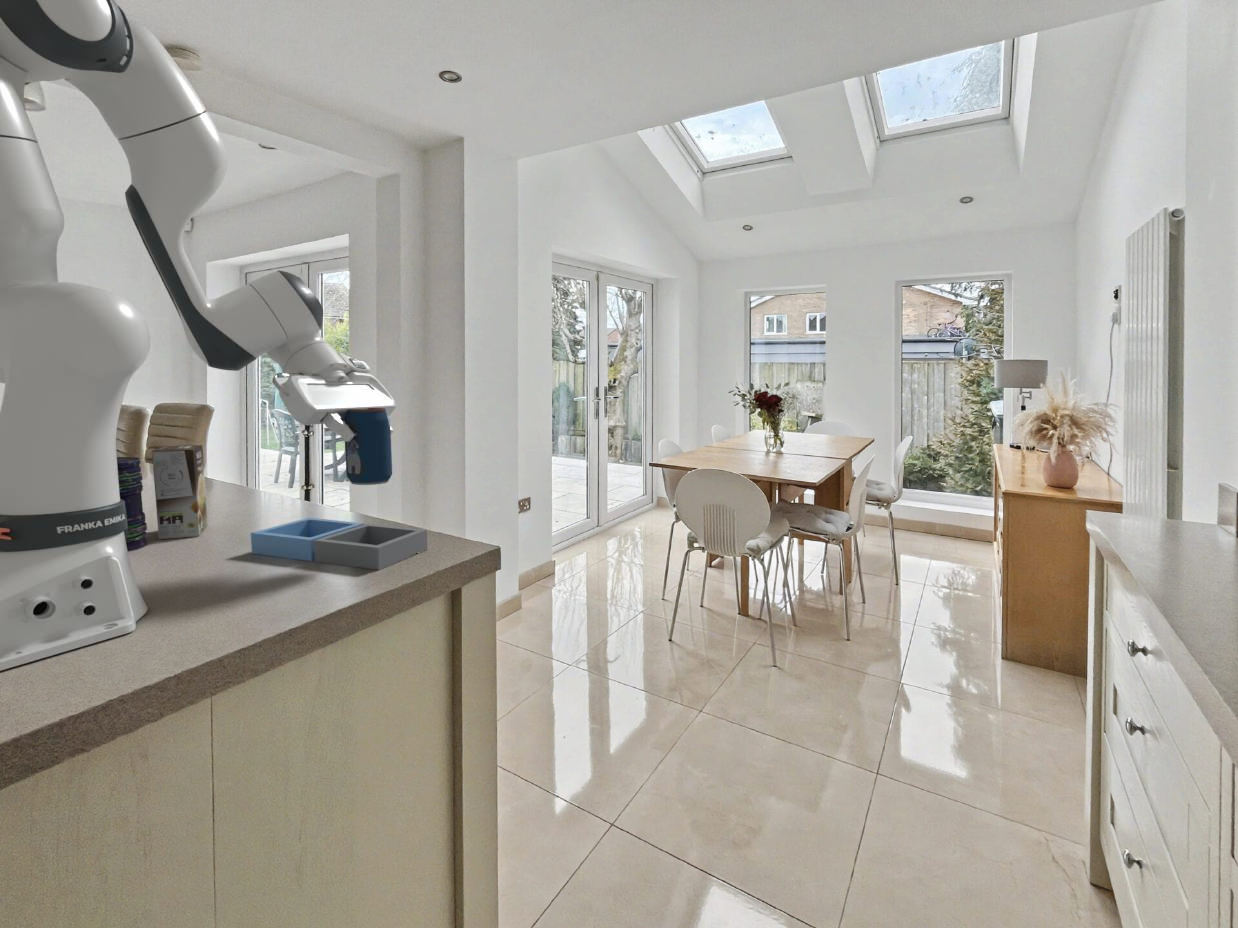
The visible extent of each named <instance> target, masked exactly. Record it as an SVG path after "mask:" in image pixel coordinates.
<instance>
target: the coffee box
mask: <svg viewBox="0 0 1238 928" xmlns="http://www.w3.org/2000/svg"><path fill="white" fill-rule="evenodd" d="M203 450H204V449H203V444H189V445H188V444H187V445H186V444H185V445H166V446H165V445H164V446H162V447H158V448H156V449H153V450H151V455H152V468H153V483H154V494H155V505H156V507H155V508H156V518H157V532H158V539H159V540H165V539H166V540H167V539H180V538H195V537H200V536H201V534H202V533H203V532H204V531H205V530H206V529H207V528H208V526H209V523H208V521H209V520H208V507H207V494H206V493H207V492H206V478H205V465H204V451H203Z"/></svg>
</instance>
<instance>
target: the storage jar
mask: <svg viewBox="0 0 1238 928" xmlns="http://www.w3.org/2000/svg"><path fill="white" fill-rule="evenodd" d="M140 464H141V459H140V457H132V456H131V457H130V456H129V457H128V456H117V467H118V480H119V493H120V499H122V500H123V501H125V508H126V515H127V525H128V532H127V540H126V545H127V550H128V553H130V552H133V551H137V550H140V549H143V548H144V547H146V546H148V540H147V535H148V533H147V530H148V525H147V522H146V514H145V512H144V511H143V509H144V507H143V498H142V497H143V496H142V491H143V490H144V489H143V488H144V485H143V482H142V481H143V473H141V472H142V469H141V466H140Z"/></svg>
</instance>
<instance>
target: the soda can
mask: <svg viewBox="0 0 1238 928" xmlns="http://www.w3.org/2000/svg"><path fill="white" fill-rule="evenodd" d="M344 423H345V424H346V425H348V426H353V428H354V429H355V431H357V432H358V437H357V438H355V440H354V441H349V442H346V441H344V445H345V447H344V448H345V472H346V477H347V479H348V481H349V482H350V483H351V484H352V485H356V486H358V485H359V486H373V485H382V484H387V483H389V481H390V479H391V477H392V476H393V458H392V434H391V428H392V427H391V419H390V415H389V416H388V414H387V413H386V409H385V408H368V409H348V413H347V415H346V417H345V419H344ZM390 427H391V428H390Z"/></svg>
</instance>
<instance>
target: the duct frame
mask: <svg viewBox="0 0 1238 928" xmlns="http://www.w3.org/2000/svg"><path fill="white" fill-rule="evenodd" d="M250 542H251V543H250V545H251V554H253V555H260V554H261V556H269V557H274V558H284V559H292V560H298V561H299V560H300V561H306V562H313V561H314V562H315V563H323V564H331V565H338V566H339V565H340V566H344V567H354V568H360V569H361V568H362V569H369V570H376V571H380V570H383V569H384V568H388V567H391V566H392V565H395V564H396V563H397V564H398V563H399V562H402V561H403V560H406V559H405V558H407V559H408V558H411V557H413V556H412V555H414V554H416V553H418V552H421V551H423V550H426V549H428V530H427V529H423V528H412V527H403V526H394V525H393V526H392V525H383V524H374V523H364V522H354V521H347V520H346V521H345V520H337V519H334V520H333V519H324V518H315V517H307V518H303V519H299V520H294V521H291V522H287V523H283V524H279V525H276V526H272V527H268V528H264V529H261V530H256V531H254V532H250ZM426 551H427V550H426ZM423 552H424V551H423ZM421 553H422V552H421ZM418 554H419V553H418ZM416 555H417V554H416ZM410 556H411V557H410ZM414 556H415V555H414ZM401 560H402V561H401ZM398 561H399V562H398ZM394 563H395V564H394Z"/></svg>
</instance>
